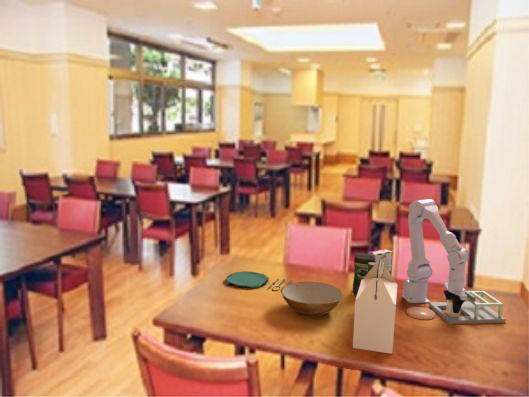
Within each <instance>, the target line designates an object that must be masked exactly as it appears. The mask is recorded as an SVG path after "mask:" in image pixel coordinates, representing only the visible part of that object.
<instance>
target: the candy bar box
mask: <svg viewBox="0 0 529 397" xmlns="http://www.w3.org/2000/svg"><path fill="white" fill-rule="evenodd" d="M367 254H372V255H375V260H376V263H377V264H378V263H379V259H380V257H381V264H383V263H384V261H385V260H386V261H385V266H386V267H387V269H388V270H389V272H390V274H391V275H392V266H393V250H389V249H388V248H387V249H386V248H385V249H378V250H372V251H368V252H367Z"/></svg>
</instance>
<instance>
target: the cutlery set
mask: <svg viewBox="0 0 529 397" xmlns="http://www.w3.org/2000/svg"><path fill="white" fill-rule="evenodd" d="M269 280H270V277H268V276H267V275H266V274H265V273H260V272H256V271H255V272H253V271H247V270H246V271H245V270H243V271H235V272H233V273H230V274H229V275H228V276H227V277H226V278H225V283H226V285H228V284H230V285H232V286H236V287H241V288H252V289H256V288H260V287H261V286H264V285H266V284H268V282H269ZM277 280H278V281H279V280H280V279H279V278H277V279H276V280H275V281H274V282H272V283H271V284H270V285H269V286H268V287H266V288H267V289H269V288H270V287H271V288H270V289H272V290H275V288H274V287H276V288H278V287H279V288H278V289H276V290H277V291H279V290H280V289H281V287H280V286H281V285H282V284H283V283H284V282H285V281H286V279H285V278H283V279H282V280H281V282H280V283H279V284H278V285H276V286H275V284H276V283H277V282H278V281H277ZM288 284H292V280H289V281H288V283H287V284H286V285H288ZM272 285H273V286H272ZM273 288H274V289H273ZM270 289H269V290H270ZM276 290H275V291H274V292H276Z"/></svg>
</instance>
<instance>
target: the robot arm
mask: <svg viewBox="0 0 529 397" xmlns="http://www.w3.org/2000/svg"><path fill="white" fill-rule="evenodd" d="M407 220H408V221H407V222H408V229H409V230H408V231H409V240H410V251H411V259H410V261H408V263H407V266H408V267H407V271H406V272H407V277H408V279H406V280H404V281H403V290H402V296H401V297H402V298H403V299H404V300H405V301H406V302H407V303H408V304H426V303H427V304H428V303H431V301H430V300H429V299H428V298H427V294H428V282H429V280H430V278H431V277H432V275H433V269H432V266H431V264H430V260H429V259H427V257H426V253H425V252H426V250H425V243H424V242H425V240H424V230H423V221H424V220H428V221H430V223H431V224H432V226H433V227H434V228H435V230H436V232H437V233H438V234H439V241H440V243H441V245H442V246H443V247H444V250H445V252H446V253H447V256H446V257H447V261H448V266H449V272H448V281H447V282H444V283H443V284H444V285H443V288H444V289H446V290H443V294H444V297H445V300H446V301H445V302H447V300H452V303H453V313H459V311H460V309H461V306H462V304H463V303H464V302H466V301H467V300H466V299H467V295H466V294H465V292H464V291H465V290H466V289H465V288H464V282H465V271H466V263H467V262H468V261H469V259H470V254H469V250H467V249H466V248H464V247H463V246H462V245H461V244H460V242H459V241H458V239H457V236H456V234H454V233H453V232H450V231H449V230H448V229H447V226H446V225H445V222H444V221H443V219H442V217H441V216H440V213H439V207H438V205H437V203H436V202H435V201H434V200H433V199H431V198H427V199H421V200H413V201H411V203H410V204H409V205H408V218H407Z"/></svg>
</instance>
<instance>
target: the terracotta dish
mask: <svg viewBox="0 0 529 397" xmlns="http://www.w3.org/2000/svg"><path fill="white" fill-rule="evenodd" d="M406 313H407V315H409V316H410V317H412V318H414V319H418V320H424V321H426V320H428V321H429V320H434V319H435V318H436V315H437V313H436V312H435V311H434V310H433V309H431V308H426V307H423V306H410V307H408V308H407V310H406Z"/></svg>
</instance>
